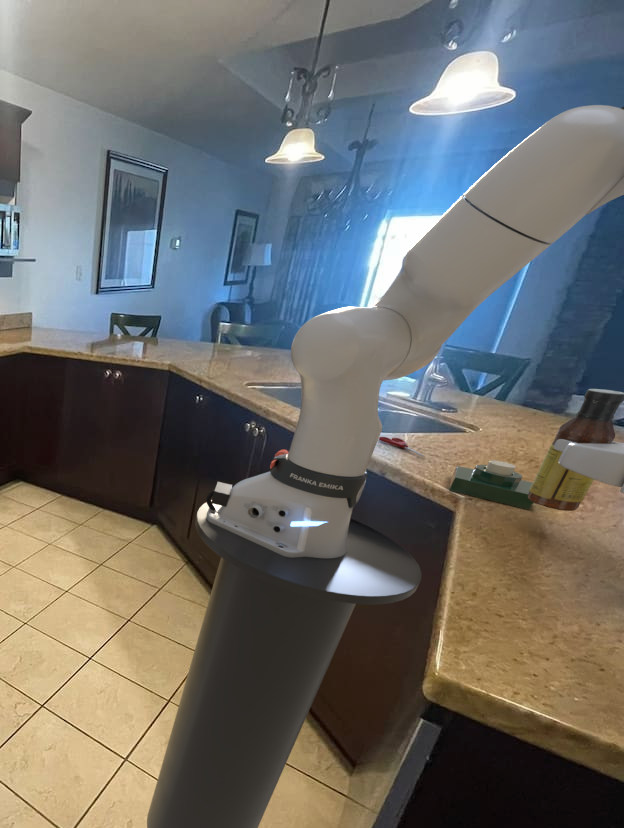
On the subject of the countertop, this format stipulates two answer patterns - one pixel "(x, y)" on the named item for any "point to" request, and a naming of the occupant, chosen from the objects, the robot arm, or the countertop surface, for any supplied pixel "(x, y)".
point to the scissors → (398, 443)
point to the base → (492, 486)
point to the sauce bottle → (587, 426)
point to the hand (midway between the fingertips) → (578, 443)
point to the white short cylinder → (500, 467)
